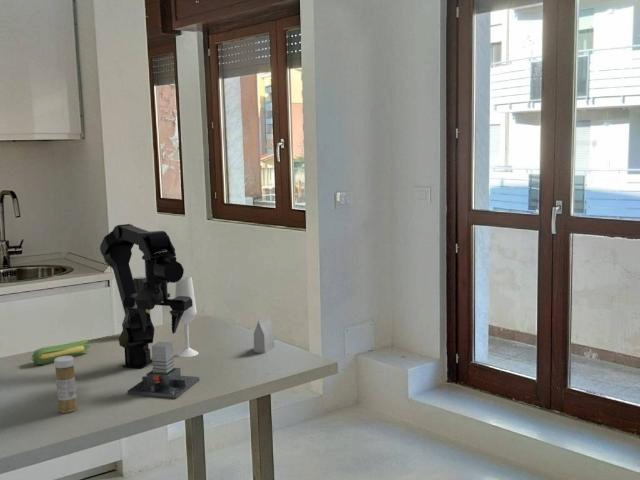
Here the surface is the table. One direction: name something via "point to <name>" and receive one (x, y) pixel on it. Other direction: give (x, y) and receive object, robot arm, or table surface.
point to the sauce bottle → (140, 286)
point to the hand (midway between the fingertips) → (158, 332)
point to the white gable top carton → (263, 336)
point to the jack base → (163, 385)
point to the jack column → (162, 358)
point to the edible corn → (59, 352)
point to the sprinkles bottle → (65, 384)
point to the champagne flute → (186, 312)
